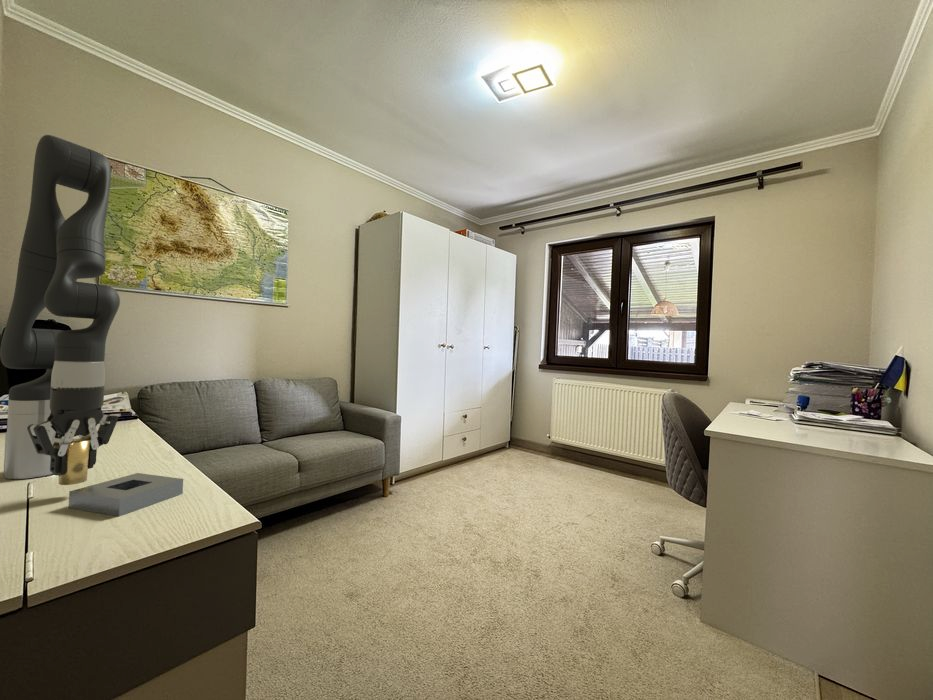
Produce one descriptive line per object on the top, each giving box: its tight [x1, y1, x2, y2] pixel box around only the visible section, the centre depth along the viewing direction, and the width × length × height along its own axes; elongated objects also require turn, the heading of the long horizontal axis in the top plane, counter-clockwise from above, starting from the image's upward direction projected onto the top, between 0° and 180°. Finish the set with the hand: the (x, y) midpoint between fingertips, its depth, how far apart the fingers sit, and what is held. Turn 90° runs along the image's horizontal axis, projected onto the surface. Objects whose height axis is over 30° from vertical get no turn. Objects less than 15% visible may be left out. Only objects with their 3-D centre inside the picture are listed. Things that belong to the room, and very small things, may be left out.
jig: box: [68, 472, 184, 517], centre depth 76 cm, size 12×12×3 cm
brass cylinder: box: [57, 437, 90, 486], centre depth 77 cm, size 4×4×8 cm
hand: (73, 470), depth 77 cm, fingers closed on brass cylinder, 4 cm apart
